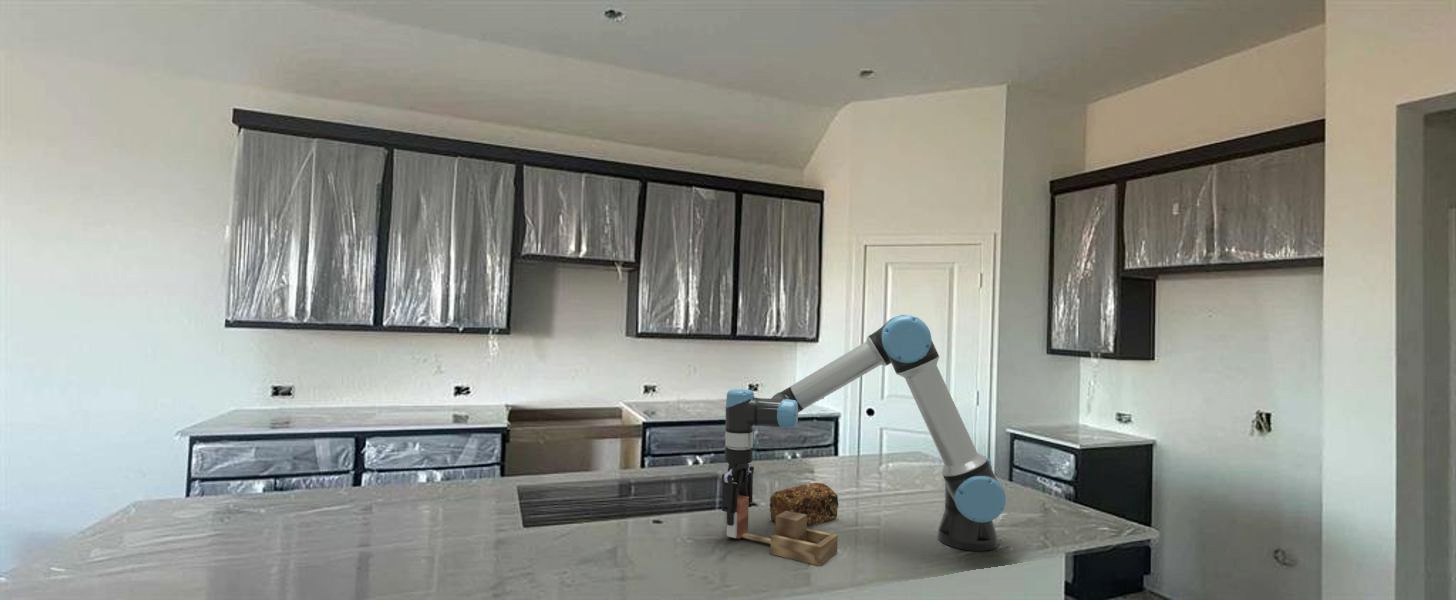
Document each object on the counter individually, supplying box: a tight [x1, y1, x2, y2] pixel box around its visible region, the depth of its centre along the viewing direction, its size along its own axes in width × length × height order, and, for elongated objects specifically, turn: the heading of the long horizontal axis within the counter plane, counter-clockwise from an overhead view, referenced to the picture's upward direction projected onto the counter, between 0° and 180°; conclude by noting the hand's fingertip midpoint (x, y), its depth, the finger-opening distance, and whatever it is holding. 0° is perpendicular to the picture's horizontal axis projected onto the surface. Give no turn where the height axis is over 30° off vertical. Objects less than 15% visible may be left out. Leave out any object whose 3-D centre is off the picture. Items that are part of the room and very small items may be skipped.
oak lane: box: [770, 528, 839, 566], centre depth 161 cm, size 14×11×4 cm
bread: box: [769, 481, 839, 527], centre depth 188 cm, size 19×11×10 cm, turn 123°
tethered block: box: [725, 495, 808, 545], centre depth 167 cm, size 21×6×10 cm, turn 59°
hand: (737, 533), depth 172 cm, fingers closed on tethered block, 5 cm apart
